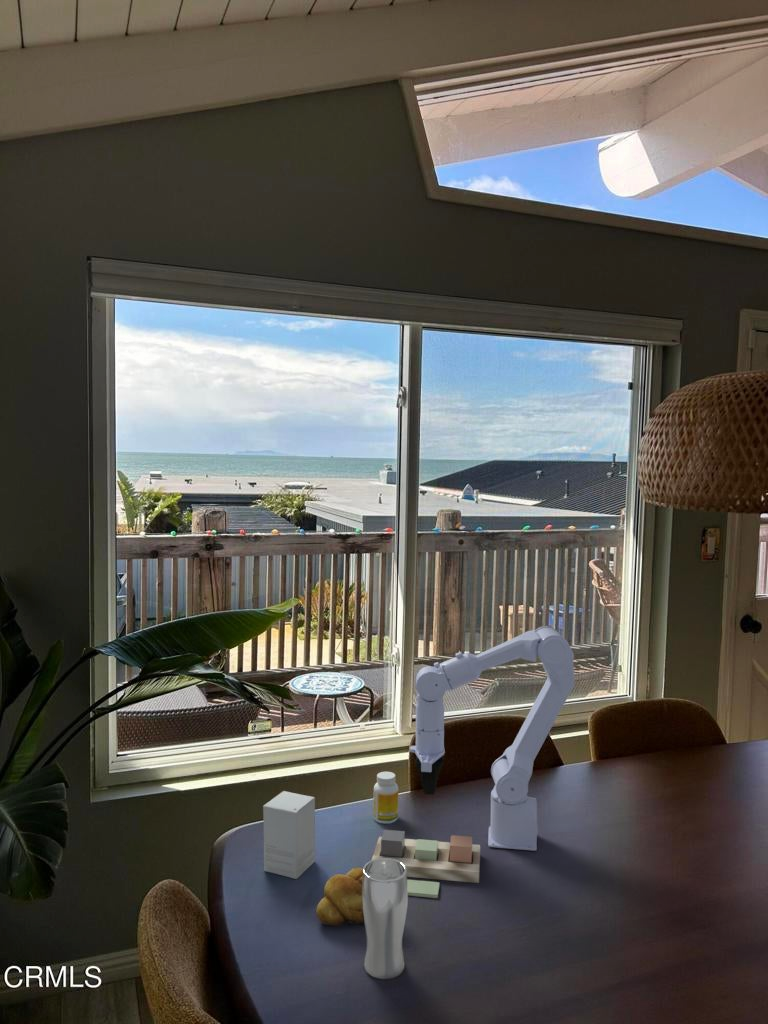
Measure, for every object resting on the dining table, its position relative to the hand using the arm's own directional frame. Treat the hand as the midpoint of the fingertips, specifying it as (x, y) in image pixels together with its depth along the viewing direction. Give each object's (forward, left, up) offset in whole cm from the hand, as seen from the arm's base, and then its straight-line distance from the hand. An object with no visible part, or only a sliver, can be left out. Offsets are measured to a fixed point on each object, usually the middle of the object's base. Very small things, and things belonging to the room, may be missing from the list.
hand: (429, 793), depth 148 cm
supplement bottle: (+10, -7, -10) cm, 16 cm away
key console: (-1, +10, -9) cm, 14 cm away
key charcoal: (+6, +10, -7) cm, 14 cm away
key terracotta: (-7, +10, -7) cm, 14 cm away
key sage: (0, +10, -9) cm, 13 cm away
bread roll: (+10, +28, -10) cm, 31 cm away
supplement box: (+25, +15, -10) cm, 31 cm away
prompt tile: (-1, +19, -9) cm, 21 cm away
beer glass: (+3, +40, -10) cm, 41 cm away
